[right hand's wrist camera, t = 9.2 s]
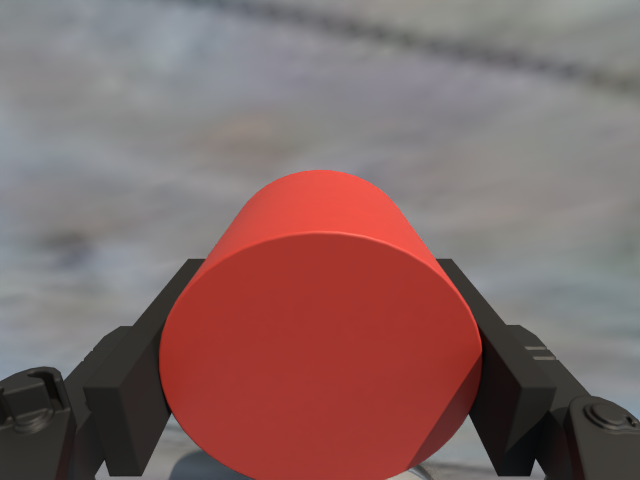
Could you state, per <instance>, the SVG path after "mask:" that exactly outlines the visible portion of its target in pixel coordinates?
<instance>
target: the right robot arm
mask: <svg viewBox="0 0 640 480" xmlns="http://www.w3.org/2000/svg"><path fill="white" fill-rule="evenodd" d="M205 260H206V259H188V260H187V261H186V262H185V264H184V265H183V266H182V267H181V268H180V270H179V271H178V272H177V273H176V274H175V276H174V277H173V278H172V279H171V280H170V282H169V283H168V284H167V285H166V286H165V288H164V289H163V290H162V291H161V293H160V294H159V295H158V296H157V297H156V299H155V300H154V301H153V302H152V303H151V305H150V306H149V307H148V308H147V309H146V311H145V312H144V313H143V314H142V315H141V317H140V318H139V319H138V320H137V321H136V323H135V324H134V325H133V326H120V327H118V328H117V329H115V330H114V331H112V332H111V333H109V334H107V335H106V336H104V337H103V338H102V340H101V341H100V342H99V343H98V344H97V345H96V346H95V347H94V348H93V351H91V352H90V353H89V354H88V355H87V356H86V357H85V358H84V361H81V363H80V364H79V365H78V366H77V367H76V368H75V369H74V370H73V371H72V372H71V374H70V375H69V376H68V377H67V378H66V379H65V380H64V381H63V379H62V376H61V372H60V371H58V370H57V369H56V368H53V367H37V368H31V369H27V370H24V371H21V372H18V373H16V374H14V375H12V376H10V377H8V378H6V379H4V380H2V381H0V480H96V479H95V475H96V473H97V471H98V470H99V468H100V466H101V465H102V463H103V461H104V460H105V463H106V466H107V469H108V472H109V476H142V474H143V472H144V470H145V468H146V466H147V464H148V462H149V459H150V457H151V455H152V453H153V451H154V449H155V447H156V445H157V443H158V440H159V438H160V436H161V434H162V432H163V430H164V428H165V426H166V424H167V421H168V419H169V417H170V415H171V413H172V411H171V410H170V408H169V406H168V404H167V401H166V398H165V395H164V392H163V389H162V386H161V380H160V374H159V347H160V341H161V335H162V331H163V328H164V326H165V323H166V320H167V317H168V315H169V313H170V311H171V309H172V307H173V306H174V304H175V302H176V300H177V299H178V297H179V296H180V294H181V293H182V292H183V290H184V289H185V287H186V286H187V285H188V283H189V282H190V280H191V279H192V278H193V276H194V275H195V273H196V272H197V271H198V269H199V268H200V267H201V265H202V264H203V262H204V261H205ZM436 261H437V262H438V263H439V265H440V266H441V268H442V269H443V270H444V272H445V273H446V274H447V276H448V277H449V279H450V280H451V281H452V283H453V284H454V285H455V287H456V288H457V290H458V291H459V292H460V294H461V296H462V297H463V299H464V300H465V302H466V303H467V305H468V306H469V308H470V310H471V312H472V315H473V317H474V319H475V321H476V324H477V327H478V331H479V335H480V339H481V344H482V356H483V364H482V377H481V381H480V386H479V390H478V394H477V396H476V399H475V401H474V403H473V406H472V408H471V410H470V412H469V416H470V418H471V420H472V422H473V424H474V426H475V428H476V430H477V433H478V435H479V437H480V439H481V441H482V443H483V445H484V447H485V449H486V452H487V454H488V456H489V458H490V460H491V462H492V464H493V466H494V468H495V471H496V473H497V475H498V476H530V475H531V471H532V468H533V465H534V462H535V458H536V460H537V461H538V463H539V465H540V466H541V468H542V470H543V471H544V473H545V475H546V476H545V479H544V480H640V422H639V420H638V419H637V418H635V417H634V416H633V415H632V414H631V413H629V412H628V411H627V410H625V409H624V408H622V407H620V406H619V405H617V404H615V403H613V402H611V401H608V400H605V399H603V398H600V397H595V396H591V395H590V394H589V393H588V392H587V391H586V390H585V388H584V387H583V386H582V385H581V384H580V383H579V382H578V381H577V380H576V379H575V378H574V376H573V375H572V374H571V373H570V372H569V371H568V370H567V369H566V368H565V367H564V366H563V364H562V363H561V362H560V361H559V360H556V357H555V356H554V355H553V354H552V352H551V351H550V350H547V347H546V346H545V345H544V344H543V343H542V342H541V341H540V339H539V338H538V337H537V336H536V335H534V334H533V333H531V332H530V331H528V330H527V329H525V328H523V327H522V326H520V325H506V324H505V323H504V322H503V321H502V319H501V318H500V317H499V316H498V315H497V313H496V312H495V311H494V310H493V309H492V307H491V306H490V305H489V304H488V302H487V301H486V300H485V299H484V298H483V296H482V295H481V294H480V293H479V292H478V290H477V289H476V288H475V287H474V286H473V284H472V283H471V282H470V281H469V280H468V278H467V277H466V276H465V275H464V274H463V272H462V271H461V270H460V269H459V267H458V266H457V265H456V264H455V263H454V261H453V260H452V259H436ZM386 480H433V479H432V477H431V476H430V475H429V473H428V472H427V471H426V470H425V469H423V468H422V467H421V466H420V465H416V466H414V467H413V468H411V469H409V470H407V471H405V472H403V473H401V474H398V475H396V476H394V477H391V478H388V479H386Z"/></svg>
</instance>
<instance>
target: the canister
mask: <svg viewBox="0 0 640 480" xmlns="http://www.w3.org/2000/svg"><path fill="white" fill-rule="evenodd" d="M482 364H483V356H482V344H481V339H480V335H479V331H478V327H477V324H476V321H475V319H474V317H473V315H472V312H471V310H470V308H469V306H468V305H467V303H466V302H465V300H464V299H463V297H462V296H461V294H460V292H459V291H458V290H457V288H456V287H455V285H454V284H453V283H452V281H451V280H450V279H449V277H448V276H447V274H446V273H445V272H444V270H443V269H442V268H441V266H440V265H439V263H438V262H437V261H436V259H435V258H434V257H433V255H432V254H431V252H430V251H429V250H428V248H427V247H426V246H425V244H424V243H423V241H422V240H421V239H420V237H419V236H418V235H417V233H416V232H415V231H414V229H413V228H412V226H411V225H410V224H409V222H408V221H407V220H406V218H405V217H404V215H403V214H402V213H401V211H400V210H399V209H398V207H397V206H396V205H395V204H394V202H393V201H392V200H391V199H390V198H389V197H388V196H387V195H386V194H385V193H383V192H382V191H381V190H380V189H378V188H377V187H375V186H374V185H372V184H371V183H369V182H367V181H365V180H363V179H361V178H359V177H356V176H353V175H350V174H347V173H343V172H337V171H331V170H312V171H303V172H299V173H294V174H290V175H288V176H285V177H282V178H280V179H277V180H276V181H274V182H272V183H270V184H268V185H267V186H265V187H264V188H263V189H261V190H260V191H258V192H257V193H256V194H255V195H254V196H253V197H252V198H251V199H250V200H249V201H248V202H247V203H246V204H245V206H244V207H243V208H242V210H241V211H240V212H239V214H238V215H237V216H236V218H235V219H234V221H233V222H232V223H231V225H230V226H229V228H228V229H227V230H226V232H225V233H224V235H223V236H222V237H221V239H220V240H219V242H218V243H217V244H216V246H215V247H214V248H213V250H212V251H211V253H210V254H209V255H208V257H207V258H206V260H205V261H204V262H203V264H202V265H201V267H200V268H199V269H198V271H197V272H196V273H195V275H194V276H193V278H192V279H191V280H190V282H189V283H188V285H187V286H186V287H185V289H184V290H183V292H182V293H181V294H180V296H179V297H178V299H177V300H176V302H175V304H174V306H173V307H172V309H171V311H170V313H169V315H168V317H167V320H166V323H165V326H164V328H163V331H162V335H161V341H160V347H159V374H160V380H161V386H162V389H163V392H164V395H165V398H166V401H167V404H168V406H169V408H170V410H171V411H172V413H173V415H174V417H175V419H176V420H177V422H178V423H179V425H180V426H181V427H182V429H183V430H184V432H185V433H186V434H187V435H188V436H189V437H190V438H191V439H192V440H193V441H194V442H195V444H197V445H198V446H199V447H200V448H201V449H202V450H204V451H205V452H206V453H207V454H208V455H210V456H211V457H213V458H214V459H215V460H217V461H218V462H220V463H221V464H223V465H225V466H227V467H228V468H230V469H232V470H234V471H236V472H238V473H240V474H243V475H245V476H247V477H250V478H252V479H255V480H386V479H388V478H391V477H394V476H396V475H398V474H401V473H403V472H405V471H407V470H409V469H411V468H413V467H414V466H416V465H418V464H419V463H421V462H423V461H424V460H426V459H427V458H429V457H430V456H431V455H432V454H434V453H435V452H436V451H438V450H439V449H440V448H441V447H442V446H443V445H444V444H445V443H446V442H447V441H448V440H449V439H450V438H451V437H452V436H453V435H454V434H455V433H456V431H457V430H458V429H459V428H460V426H461V425H462V424H463V422H464V420H465V419H466V417H467V415H468V414H469V412H470V410H471V408H472V406H473V403H474V401H475V399H476V396H477V394H478V390H479V386H480V381H481V377H482Z"/></svg>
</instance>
